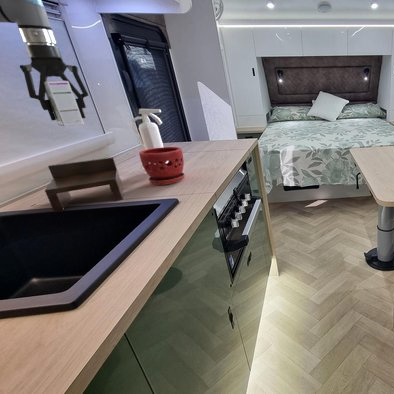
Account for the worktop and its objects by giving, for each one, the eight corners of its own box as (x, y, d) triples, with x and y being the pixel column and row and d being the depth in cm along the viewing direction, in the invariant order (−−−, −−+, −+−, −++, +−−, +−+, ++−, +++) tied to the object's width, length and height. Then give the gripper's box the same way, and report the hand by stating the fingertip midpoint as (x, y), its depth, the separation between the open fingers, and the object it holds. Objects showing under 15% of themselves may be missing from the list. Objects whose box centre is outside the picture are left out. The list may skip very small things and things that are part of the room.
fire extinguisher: (145, 170, 122) (127, 108, 112) (177, 167, 125) (161, 107, 115) (139, 175, 116) (119, 110, 106) (172, 172, 119) (156, 108, 109)
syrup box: (85, 124, 103) (69, 80, 97) (63, 126, 98) (46, 80, 93) (78, 123, 106) (63, 80, 100) (57, 125, 101) (40, 80, 95)
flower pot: (188, 183, 106) (180, 150, 101) (146, 189, 101) (135, 155, 96) (188, 173, 117) (181, 144, 112) (150, 178, 111) (141, 148, 107)
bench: (54, 212, 84) (38, 176, 79) (62, 198, 94) (48, 165, 90) (122, 199, 92) (111, 166, 88) (123, 187, 103) (113, 157, 98)
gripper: (-9, 42, 84) (26, 122, 93) (81, 45, 95) (105, 117, 104) (-1, 44, 90) (31, 120, 98) (83, 47, 101) (105, 115, 109)
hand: (69, 118), depth 101 cm, fingers closed on syrup box, 7 cm apart
